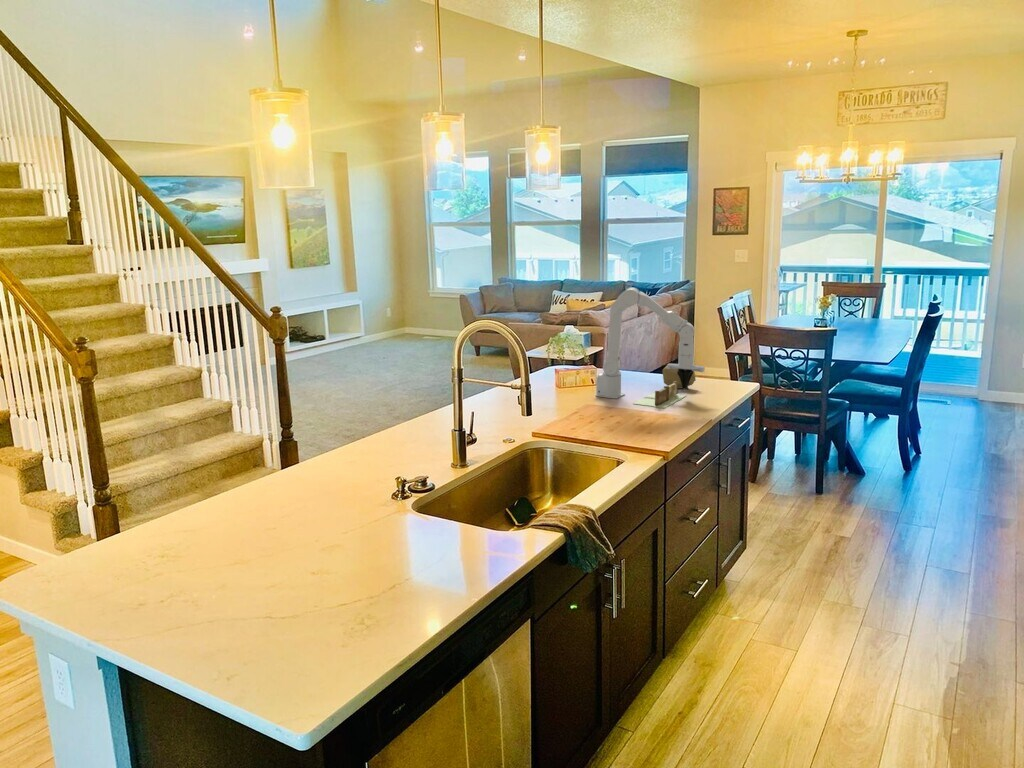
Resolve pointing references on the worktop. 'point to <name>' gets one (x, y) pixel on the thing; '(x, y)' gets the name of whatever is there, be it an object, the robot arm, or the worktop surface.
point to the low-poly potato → (675, 377)
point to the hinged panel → (673, 389)
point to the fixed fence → (661, 395)
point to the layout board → (651, 402)
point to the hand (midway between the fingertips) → (685, 388)
